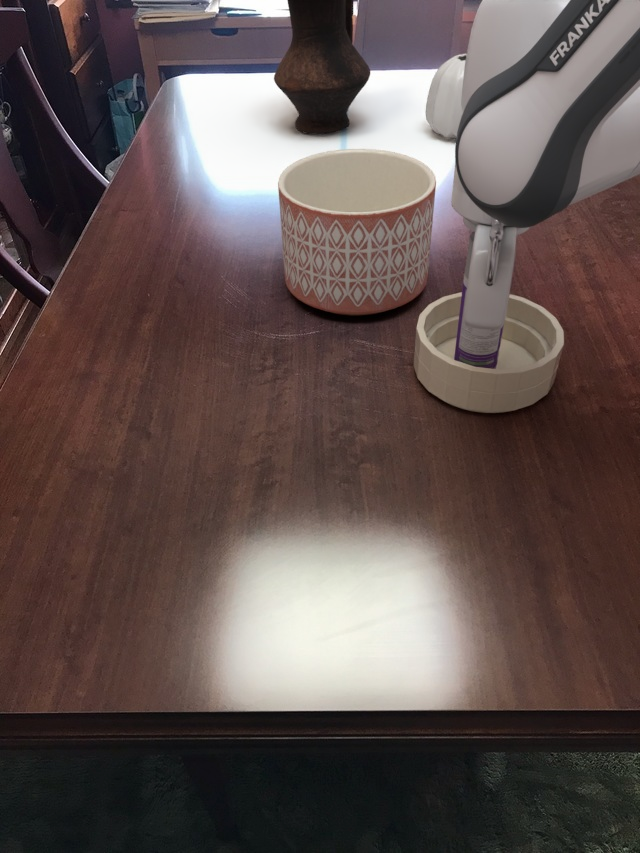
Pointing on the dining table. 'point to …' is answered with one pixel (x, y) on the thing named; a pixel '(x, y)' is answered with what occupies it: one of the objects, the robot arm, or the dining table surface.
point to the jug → (321, 65)
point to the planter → (356, 229)
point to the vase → (446, 97)
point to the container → (469, 345)
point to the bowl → (517, 362)
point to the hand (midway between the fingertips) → (483, 316)
